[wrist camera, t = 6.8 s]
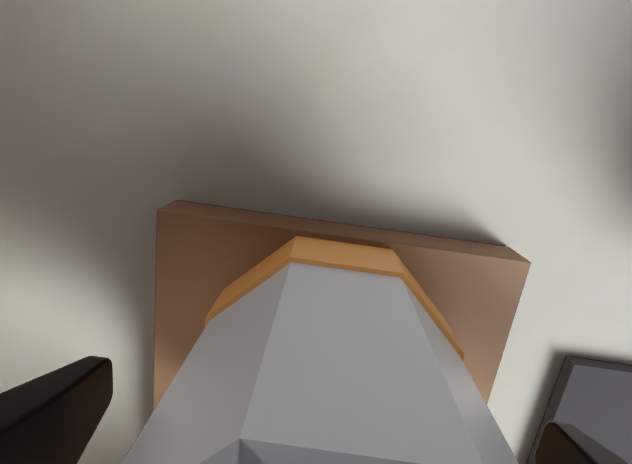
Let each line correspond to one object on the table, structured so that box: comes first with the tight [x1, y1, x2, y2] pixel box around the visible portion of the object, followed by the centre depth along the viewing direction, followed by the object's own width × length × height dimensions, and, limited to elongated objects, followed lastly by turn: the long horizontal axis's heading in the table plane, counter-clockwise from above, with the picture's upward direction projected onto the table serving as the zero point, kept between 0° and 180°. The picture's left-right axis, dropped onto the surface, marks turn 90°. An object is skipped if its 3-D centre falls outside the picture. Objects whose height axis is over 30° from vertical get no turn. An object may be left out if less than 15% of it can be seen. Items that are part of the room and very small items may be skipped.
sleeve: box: [121, 236, 519, 464], centre depth 7 cm, size 6×6×6 cm
